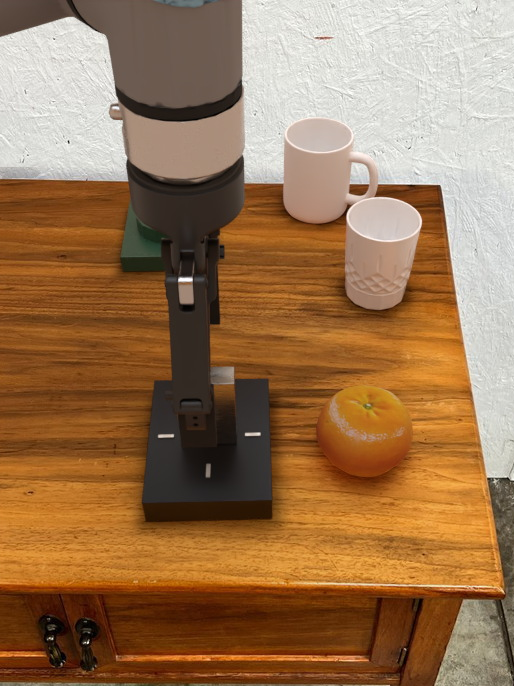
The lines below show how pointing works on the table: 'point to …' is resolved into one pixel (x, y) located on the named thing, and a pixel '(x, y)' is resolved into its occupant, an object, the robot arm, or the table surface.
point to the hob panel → (210, 463)
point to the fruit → (364, 430)
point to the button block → (140, 246)
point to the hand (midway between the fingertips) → (202, 378)
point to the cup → (321, 169)
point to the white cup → (380, 251)
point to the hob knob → (224, 404)
